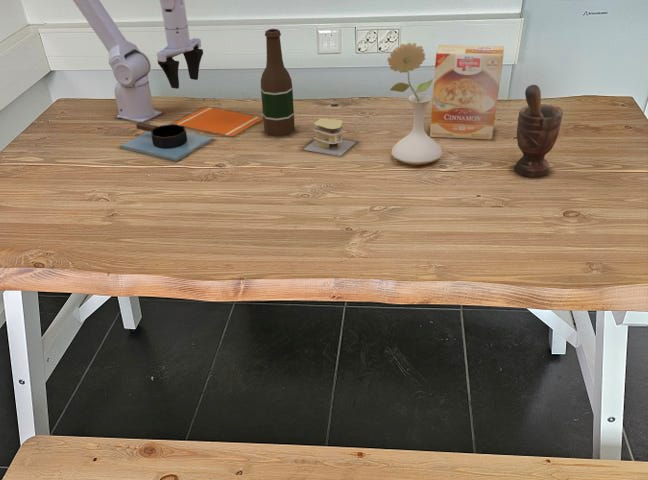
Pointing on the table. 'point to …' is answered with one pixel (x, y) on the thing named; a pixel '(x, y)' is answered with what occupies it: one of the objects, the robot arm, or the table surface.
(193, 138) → the trivet
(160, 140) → the skillet
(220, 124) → the tea towel
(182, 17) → the robot arm
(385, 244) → the table surface
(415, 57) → the flower in vase
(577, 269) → the table surface
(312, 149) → the stacked layers on plate
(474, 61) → the coffeecake box
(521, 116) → the mortar and pestle
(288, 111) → the beer bottle
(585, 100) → the table surface
